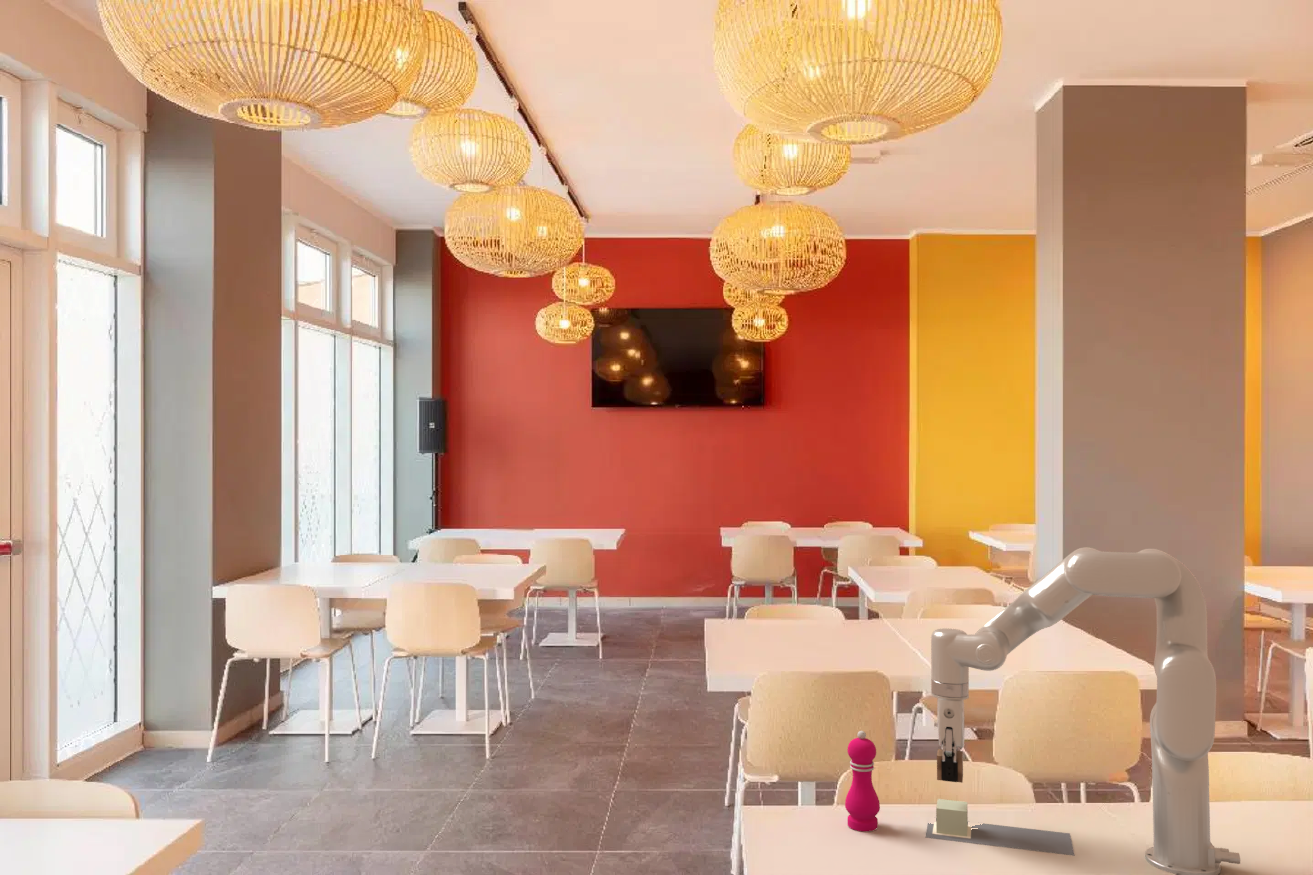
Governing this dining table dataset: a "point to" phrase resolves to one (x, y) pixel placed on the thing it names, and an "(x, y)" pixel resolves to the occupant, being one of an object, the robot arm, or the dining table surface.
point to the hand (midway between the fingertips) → (950, 775)
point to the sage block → (951, 817)
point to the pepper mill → (862, 785)
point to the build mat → (1010, 838)
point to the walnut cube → (958, 759)
